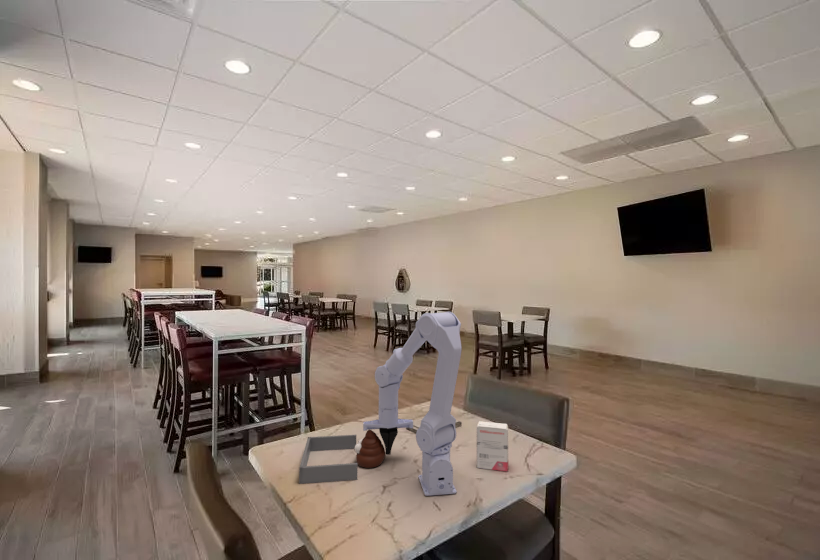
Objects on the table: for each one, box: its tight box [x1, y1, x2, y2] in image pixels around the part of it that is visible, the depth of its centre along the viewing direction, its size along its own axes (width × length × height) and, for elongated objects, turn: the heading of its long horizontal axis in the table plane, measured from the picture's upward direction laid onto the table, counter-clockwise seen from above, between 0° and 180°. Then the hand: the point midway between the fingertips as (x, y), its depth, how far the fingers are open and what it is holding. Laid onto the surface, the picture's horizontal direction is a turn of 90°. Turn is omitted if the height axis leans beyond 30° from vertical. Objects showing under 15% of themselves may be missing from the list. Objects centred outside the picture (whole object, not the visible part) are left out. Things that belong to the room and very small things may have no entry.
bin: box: [298, 434, 359, 485], centre depth 108 cm, size 20×15×4 cm
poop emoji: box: [354, 429, 387, 469], centre depth 109 cm, size 10×8×9 cm
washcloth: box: [405, 417, 463, 434], centre depth 136 cm, size 12×18×3 cm, turn 132°
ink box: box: [476, 420, 509, 472], centre depth 107 cm, size 9×5×12 cm, turn 74°
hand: (388, 453), depth 110 cm, fingers closed
